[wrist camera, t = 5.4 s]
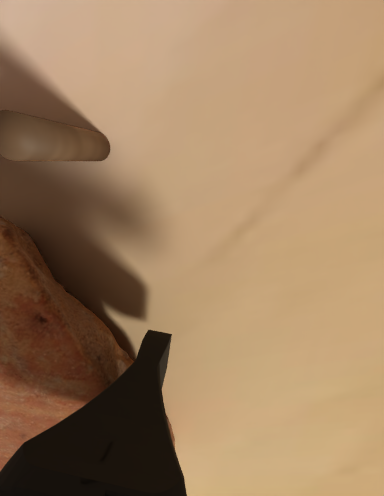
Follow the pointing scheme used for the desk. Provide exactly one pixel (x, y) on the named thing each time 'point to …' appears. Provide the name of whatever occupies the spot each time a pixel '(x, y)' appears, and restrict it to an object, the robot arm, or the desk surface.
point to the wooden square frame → (48, 140)
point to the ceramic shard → (46, 346)
